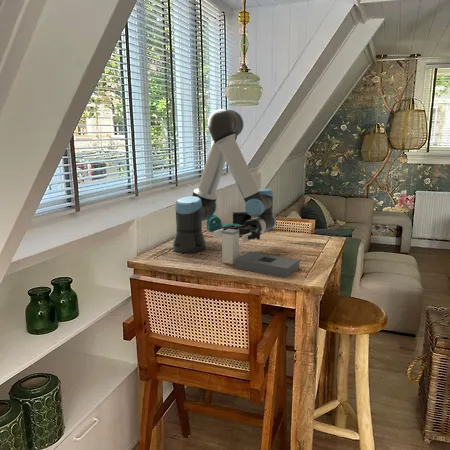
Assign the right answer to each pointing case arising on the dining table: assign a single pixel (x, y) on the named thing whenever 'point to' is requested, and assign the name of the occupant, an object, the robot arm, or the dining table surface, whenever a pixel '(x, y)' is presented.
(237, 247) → the plug
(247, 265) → the plate with square hole
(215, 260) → the dining table surface
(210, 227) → the bracket
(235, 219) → the digital camera
